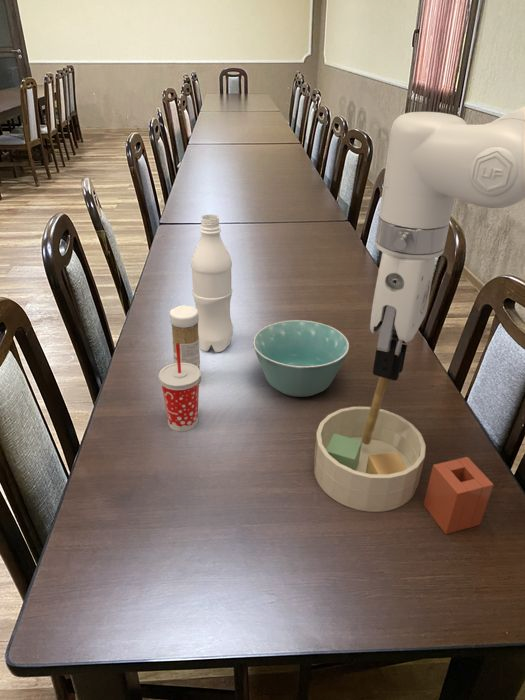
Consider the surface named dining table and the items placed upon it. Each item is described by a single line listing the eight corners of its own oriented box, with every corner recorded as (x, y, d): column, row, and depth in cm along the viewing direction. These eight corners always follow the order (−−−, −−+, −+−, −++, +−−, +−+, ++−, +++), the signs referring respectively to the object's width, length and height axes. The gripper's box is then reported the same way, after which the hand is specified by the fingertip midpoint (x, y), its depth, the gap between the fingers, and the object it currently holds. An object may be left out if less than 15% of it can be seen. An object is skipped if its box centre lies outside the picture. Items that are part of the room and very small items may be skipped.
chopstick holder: (455, 496, 71) (467, 456, 67) (480, 525, 67) (493, 484, 63) (423, 504, 70) (433, 464, 66) (445, 534, 66) (457, 493, 62)
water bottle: (194, 337, 105) (186, 211, 92) (230, 335, 106) (228, 210, 93) (196, 357, 99) (189, 225, 86) (235, 354, 100) (234, 223, 87)
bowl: (235, 374, 95) (235, 333, 90) (306, 349, 102) (309, 311, 98) (287, 422, 83) (290, 378, 79) (363, 390, 91) (369, 349, 87)
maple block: (392, 473, 73) (397, 451, 71) (404, 495, 70) (409, 472, 68) (364, 477, 72) (368, 455, 70) (375, 499, 69) (379, 476, 67)
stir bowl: (385, 430, 82) (390, 399, 79) (438, 498, 71) (447, 464, 67) (298, 449, 78) (301, 416, 75) (340, 523, 67) (345, 488, 64)
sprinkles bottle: (173, 374, 94) (168, 305, 87) (199, 371, 95) (196, 303, 88) (176, 389, 90) (171, 318, 83) (203, 385, 91) (200, 315, 84)
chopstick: (368, 438, 76) (399, 331, 66) (370, 444, 75) (402, 337, 65) (360, 438, 76) (390, 331, 66) (362, 444, 75) (393, 336, 65)
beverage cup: (160, 413, 85) (152, 336, 77) (198, 406, 86) (194, 330, 79) (166, 438, 80) (159, 358, 72) (207, 430, 81) (203, 351, 74)
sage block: (358, 462, 75) (362, 440, 73) (351, 481, 72) (355, 459, 70) (331, 454, 76) (333, 432, 74) (322, 473, 73) (325, 451, 71)
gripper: (430, 264, 52) (400, 414, 62) (458, 221, 64) (429, 352, 73) (356, 250, 55) (339, 396, 64) (396, 211, 67) (376, 339, 76)
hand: (387, 372), depth 69 cm, fingers closed on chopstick, 1 cm apart
